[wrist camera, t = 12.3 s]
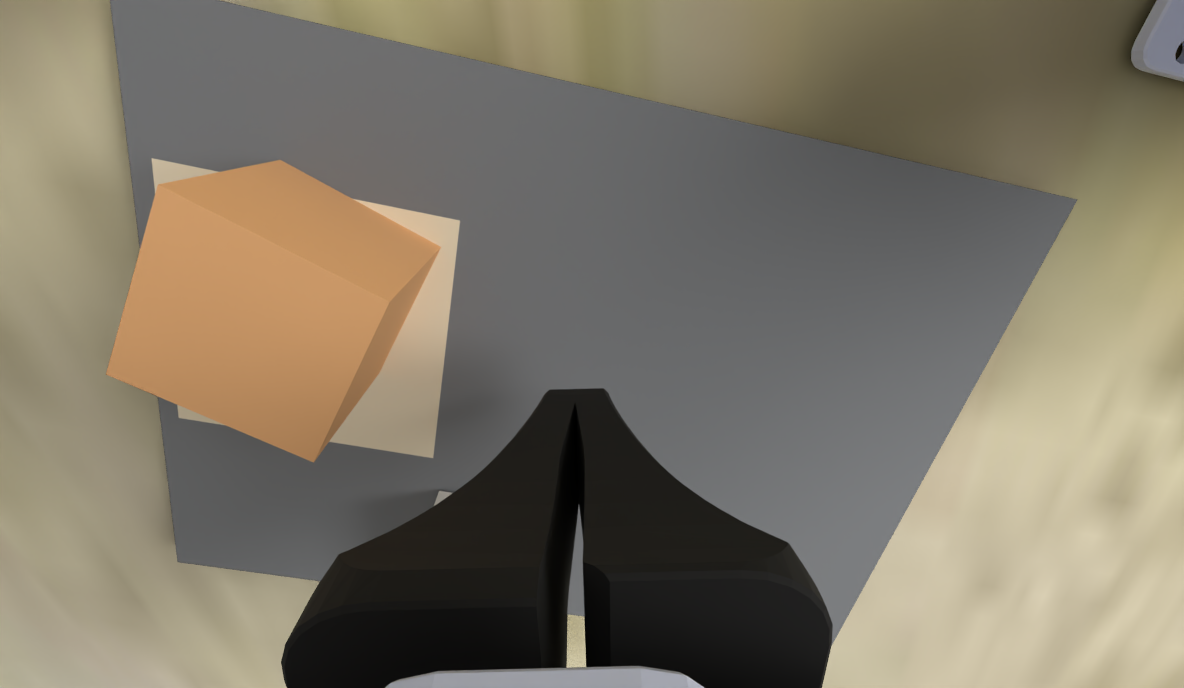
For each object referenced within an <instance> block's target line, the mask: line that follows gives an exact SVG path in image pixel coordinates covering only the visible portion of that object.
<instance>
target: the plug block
mask: <svg viewBox="0 0 1184 688" xmlns="http://www.w3.org/2000/svg"><path fill="white" fill-rule="evenodd" d="M440 249H441V247H440V246H438V245H437V244H435V243H433V242H431V241H429V240H427V239H426V238H424V237H422V236H420V235H418V234H416V233H414V232H413V231H411V230H409V229H407V228H405V227H403V226H402V225H400V224H398V223H396V222H394V221H392V220H390V219H389V218H387V217H385V216H383V215H381V214H379V213H378V212H376V211H374V210H372V209H370V208H368V207H366V206H365V205H363V204H361V203H359V202H357V201H355V200H354V199H352V198H350V197H348V196H346V195H344V194H343V193H341V192H339V191H337V190H335V189H333V188H331V187H330V186H328V185H326V184H324V183H322V182H320V181H319V180H317V179H315V178H313V177H311V176H309V175H307V174H306V173H304V172H302V171H300V170H298V169H296V168H295V167H293V166H291V165H289V164H287V163H285V162H283V161H282V160H276V161H272V162H267V163H262V164H257V165H252V166H247V167H242V168H237V169H232V170H227V171H222V172H217V173H212V174H207V175H202V176H197V177H192V178H187V179H182V180H177V181H172V182H167V183H162V184H158V186H157V190H156V193H155V197H154V200H153V204H152V208H151V211H150V215H149V219H148V222H147V226H146V230H145V233H144V237H143V241H142V244H141V248H140V252H139V255H138V259H137V263H136V266H135V270H134V273H133V277H132V281H131V284H130V288H129V292H128V295H127V299H126V303H125V306H124V310H123V314H122V317H121V321H120V325H119V328H118V332H117V336H116V339H115V343H114V347H113V350H112V354H111V357H110V361H109V365H108V368H107V372H106V375H108V376H111V377H113V378H116V379H118V380H120V381H123V382H125V383H127V384H130V385H132V386H134V387H137V388H139V389H141V390H144V391H146V392H149V393H151V394H153V395H156V396H158V397H160V398H163V399H165V400H167V401H170V402H172V403H174V404H177V405H179V406H182V407H184V408H186V409H189V410H191V411H193V412H196V413H198V414H200V415H203V416H205V417H207V418H210V419H212V420H215V421H217V422H219V423H222V424H224V425H226V426H229V427H231V428H233V429H236V430H238V431H240V432H243V433H245V434H248V435H250V436H252V437H255V438H257V439H259V440H262V441H264V442H266V443H269V444H271V445H273V446H276V447H278V448H281V449H283V450H285V451H288V452H290V453H292V454H295V455H297V456H299V457H302V458H304V459H306V460H309V461H311V462H314V461H315V460H316V459H317V457H318V456H319V455H320V453H321V452H322V451H323V449H324V448H325V446H326V445H327V444H328V442H329V441H330V440H331V438H332V437H333V436H334V434H335V433H336V431H337V430H338V429H339V427H340V426H341V425H342V423H343V422H344V421H345V419H346V418H347V416H348V415H349V414H350V412H351V411H352V410H353V408H354V407H355V406H356V404H357V403H358V401H359V400H360V399H361V397H362V396H363V395H364V393H365V392H366V391H367V389H368V388H369V387H370V385H371V384H372V382H373V381H374V380H375V378H376V377H377V376H378V374H379V373H380V371H381V369H382V367H383V365H384V363H385V360H386V358H387V356H388V354H389V352H390V350H391V348H392V346H393V344H394V342H395V340H396V338H397V336H398V334H399V332H400V330H401V328H402V326H403V324H404V322H405V320H406V318H407V316H408V314H409V312H410V310H411V308H412V306H413V303H414V301H415V299H416V297H417V295H418V293H419V291H420V289H421V287H422V285H423V283H424V281H425V279H426V277H427V275H428V273H429V271H430V269H431V267H432V265H433V263H434V261H435V259H436V257H437V255H438V253H439V251H440Z"/></svg>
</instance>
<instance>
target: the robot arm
mask: <svg viewBox="0 0 1184 688" xmlns="http://www.w3.org/2000/svg"><path fill="white" fill-rule="evenodd" d="M1181 43H1182V46H1183V49H1182V52H1181V55H1180V56H1179V57H1178V59H1177V60H1176V57H1175V54H1176V51H1177V48H1178V47H1179V45H1180V44H1181ZM1131 61H1132V63H1133V65H1134V67H1135V68H1137V69H1139V70H1141V71H1144V72H1148V73H1152V74H1156V75H1160V76H1163V77H1167V78H1171V79H1175V80H1179V81H1182V82H1184V0H1157V1H1156V2H1155V4H1154V6H1153V8H1152V10H1151V12H1150V14H1149V16H1148V17H1147V19H1146V21H1145V23H1144V25H1143V27H1142V29H1141V31H1140V32H1139V34H1138V36H1137V38H1136V40H1135V42H1134V45H1133V47H1132V50H1131ZM579 507H580V516H581V526H582V535H583V587H584V614H585V642H586V667H576V668H566V663H567V611H568V596H569V585H570V577H571V568H572V560H573V551H574V543H575V534H576V526H577V517H578V508H579ZM832 630H833V624H832V621H831V618H830V615H829V613H828V610H827V607H826V605H825V603H824V600H823V598H822V596H821V594H820V592H819V590H818V588H817V586H816V584H815V583H814V581H813V579H812V578H811V576H810V575H809V573H808V571H807V570H806V568H805V567H804V565H803V563H802V562H801V560H800V559H799V557H798V556H797V554H796V553H795V551H794V550H793V548H792V547H791V545H790V544H789V543H788V542H786V541H784V540H782V539H779V538H777V537H775V536H773V535H771V534H768V533H766V532H764V531H762V530H759V529H757V528H755V527H753V526H751V525H748V524H746V523H744V522H742V521H740V520H739V519H737V518H735V517H733V516H731V515H730V514H728V513H726V512H724V511H722V510H721V509H719V508H717V507H716V506H714V505H712V504H711V503H709V502H708V501H706V500H705V499H703V498H702V497H700V496H699V495H697V494H696V493H695V492H693V491H692V490H690V489H689V488H688V487H686V486H685V485H683V484H682V483H681V482H680V481H678V480H677V479H676V478H675V477H674V476H672V475H671V474H670V473H669V472H668V471H667V470H666V469H665V468H664V467H663V466H662V465H661V464H660V463H659V462H658V461H657V460H656V459H655V458H654V457H653V456H652V455H651V454H650V453H649V452H648V451H647V449H646V448H645V447H644V446H643V445H642V444H641V442H640V441H639V440H638V439H637V438H636V436H635V435H634V434H633V432H632V431H631V430H630V428H629V427H628V426H627V424H626V423H625V421H624V420H623V419H622V417H621V416H620V414H619V412H618V411H617V409H616V407H615V406H614V404H613V402H612V400H611V398H610V396H609V393H608V392H607V391H606V390H605V389H604V388H594V389H552V390H548V391H547V392H546V393H545V394H544V396H543V398H542V399H541V401H540V402H539V404H538V406H537V407H536V408H535V410H534V411H533V413H532V414H531V416H530V417H529V418H528V420H527V421H526V422H525V424H524V425H523V426H522V427H521V429H520V430H519V431H518V432H517V434H516V435H515V436H514V437H513V439H512V440H511V441H510V442H509V443H508V444H507V445H506V446H505V447H504V448H503V450H502V451H501V452H500V453H499V454H498V455H497V456H496V457H495V458H494V459H493V460H492V461H491V462H490V463H489V464H488V465H487V466H486V467H485V468H484V469H483V470H482V471H481V472H479V473H478V474H477V475H476V476H475V477H474V478H473V479H471V480H470V481H469V482H467V483H466V484H465V485H463V486H462V487H461V488H459V489H458V490H456V491H455V492H454V493H452V494H451V495H449V496H448V497H447V498H445V499H444V500H442V501H441V502H440V503H438V504H437V505H435V506H433V507H432V508H430V509H428V510H427V511H425V512H424V513H422V514H420V515H419V516H417V517H415V518H413V519H411V520H410V521H408V522H406V523H404V524H402V525H401V526H399V527H397V528H395V529H393V530H391V531H389V532H387V533H385V534H383V535H381V536H378V537H376V538H374V539H372V540H370V541H367V542H365V543H363V544H361V545H359V546H357V547H354V548H352V549H350V550H348V551H345V552H343V553H340V554H338V556H337V557H336V559H335V560H334V562H333V564H332V565H331V566H330V568H329V569H328V571H327V572H326V574H325V575H324V576H323V578H322V579H321V581H320V583H319V584H318V586H317V588H316V589H315V591H314V593H313V594H312V596H311V598H310V600H309V602H308V604H307V605H306V607H305V609H304V611H303V613H302V615H301V616H300V618H299V620H298V622H297V624H296V626H295V627H294V629H293V631H292V633H291V635H290V637H289V638H288V640H287V642H286V644H285V648H284V653H283V657H282V661H281V664H282V670H283V675H284V681H285V684H286V686H287V688H822V684H823V680H824V676H825V671H826V667H827V662H828V658H829V654H830V649H831V645H832Z"/></svg>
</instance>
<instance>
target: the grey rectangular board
mask: <svg viewBox="0 0 1184 688" xmlns="http://www.w3.org/2000/svg"><path fill="white" fill-rule="evenodd" d="M110 4H111V13H112V21H113V29H114V38H115V46H116V54H117V63H118V71H119V79H120V87H121V96H122V104H123V112H124V121H125V129H126V137H127V146H128V154H129V162H130V170H131V179H132V187H133V195H134V204H135V212H136V220H137V229H138V237H139V245H140V248H141V244H142V241H143V237H144V233H145V230H146V226H147V222H148V219H149V215H150V211H151V208H152V204H153V200H154V197H155V193H156V190H157V186H158V184H162V183H167V182H172V181H177V180H182V179H187V178H192V177H197V176H202V175H207V174H212V173H217V172H222V171H227V170H232V169H237V168H242V167H247V166H252V165H257V164H262V163H267V162H272V161H276V160H282V161H283V162H285V163H287V164H289V165H291V166H293V167H295V168H296V169H298V170H300V171H302V172H304V173H306V174H307V175H309V176H311V177H313V178H315V179H317V180H319V181H320V182H322V183H324V184H326V185H328V186H330V187H331V188H333V189H335V190H337V191H339V192H341V193H343V194H344V195H346V196H348V197H350V198H352V199H354V200H355V201H357V202H359V203H361V204H363V205H365V206H366V207H368V208H370V209H372V210H374V211H376V212H378V213H379V214H381V215H383V216H385V217H387V218H389V219H390V220H392V221H394V222H396V223H398V224H400V225H402V226H403V227H405V228H407V229H409V230H411V231H413V232H414V233H416V234H418V235H420V236H422V237H424V238H426V239H427V240H429V241H431V242H433V243H435V244H437V245H438V246H440V247H441V249H440V251H439V253H438V255H437V257H436V259H435V261H434V263H433V265H432V267H431V269H430V271H429V273H428V275H427V277H426V279H425V281H424V283H423V285H422V287H421V289H420V291H419V293H418V295H417V297H416V299H415V301H414V303H413V306H412V308H411V310H410V312H409V314H408V316H407V318H406V320H405V322H404V324H403V326H402V328H401V330H400V332H399V334H398V336H397V338H396V340H395V342H394V344H393V346H392V348H391V350H390V352H389V354H388V356H387V358H386V360H385V363H384V365H383V367H382V369H381V371H380V373H379V374H378V376H377V377H376V378H375V380H374V381H373V382H372V384H371V385H370V387H369V388H368V389H367V391H366V392H365V393H364V395H363V396H362V397H361V399H360V400H359V401H358V403H357V404H356V406H355V407H354V408H353V410H352V411H351V412H350V414H349V415H348V416H347V418H346V419H345V421H344V422H343V423H342V425H341V426H340V427H339V429H338V430H337V431H336V433H335V434H334V436H333V437H332V438H331V440H330V441H329V442H328V444H327V445H326V446H325V448H324V449H323V451H322V452H321V453H320V455H319V456H318V457H317V459H316V460H315V461H314V462H311V461H309V460H306V459H304V458H302V457H299V456H297V455H295V454H292V453H290V452H288V451H285V450H283V449H281V448H278V447H276V446H273V445H271V444H269V443H266V442H264V441H262V440H259V439H257V438H255V437H252V436H250V435H248V434H245V433H243V432H240V431H238V430H236V429H233V428H231V427H229V426H226V425H224V424H222V423H219V422H217V421H215V420H212V419H210V418H207V417H205V416H203V415H200V414H198V413H196V412H193V411H191V410H189V409H186V408H184V407H182V406H179V405H177V404H174V403H172V402H170V401H167V400H165V399H163V398H160V397H158V403H159V411H160V420H161V428H162V436H163V445H164V453H165V461H166V469H167V478H168V486H169V494H170V503H171V511H172V519H173V528H174V536H175V544H176V553H177V561H178V562H180V563H188V564H195V565H203V566H210V567H218V568H225V569H233V570H240V571H248V572H255V573H263V574H270V575H278V576H285V577H293V578H300V579H308V580H315V581H321V579H322V578H323V576H324V575H325V574H326V572H327V571H328V569H329V568H330V566H331V565H332V564H333V562H334V560H335V559H336V557H337V556H338V554H340V553H343V552H345V551H348V550H350V549H352V548H354V547H357V546H359V545H361V544H363V543H365V542H367V541H370V540H372V539H374V538H376V537H378V536H381V535H383V534H385V533H387V532H389V531H391V530H393V529H395V528H397V527H399V526H401V525H402V524H404V523H406V522H408V521H410V520H411V519H413V518H415V517H417V516H419V515H420V514H422V513H424V512H425V511H427V510H428V509H430V508H432V507H433V506H434V504H435V501H436V498H437V496H438V493H439V491H444V492H451V493H454V492H455V491H456V490H458V489H459V488H461V487H462V486H463V485H465V484H466V483H467V482H469V481H470V480H471V479H473V478H474V477H475V476H476V475H477V474H478V473H479V472H481V471H482V470H483V469H484V468H485V467H486V466H487V465H488V464H489V463H490V462H491V461H492V460H493V459H494V458H495V457H496V456H497V455H498V454H499V453H500V452H501V451H502V450H503V448H504V447H505V446H506V445H507V444H508V443H509V442H510V441H511V440H512V439H513V437H514V436H515V435H516V434H517V432H518V431H519V430H520V429H521V427H522V426H523V425H524V424H525V422H526V421H527V420H528V418H529V417H530V416H531V414H532V413H533V411H534V410H535V408H536V407H537V406H538V404H539V402H540V401H541V399H542V398H543V396H544V394H545V393H546V392H547V391H548V390H552V389H594V388H604V389H605V390H606V391H607V392H608V393H609V396H610V398H611V400H612V402H613V404H614V406H615V407H616V409H617V411H618V412H619V414H620V416H621V417H622V419H623V420H624V421H625V423H626V424H627V426H628V427H629V428H630V430H631V431H632V432H633V434H634V435H635V436H636V438H637V439H638V440H639V441H640V442H641V444H642V445H643V446H644V447H645V448H646V449H647V451H648V452H649V453H650V454H651V455H652V456H653V457H654V458H655V459H656V460H657V461H658V462H659V463H660V464H661V465H662V466H663V467H664V468H665V469H666V470H667V471H668V472H669V473H670V474H671V475H672V476H674V477H675V478H676V479H677V480H678V481H680V482H681V483H682V484H683V485H685V486H686V487H688V488H689V489H690V490H692V491H693V492H695V493H696V494H697V495H699V496H700V497H702V498H703V499H705V500H706V501H708V502H709V503H711V504H712V505H714V506H716V507H717V508H719V509H721V510H722V511H724V512H726V513H728V514H730V515H731V516H733V517H735V518H737V519H739V520H740V521H742V522H744V523H746V524H748V525H751V526H753V527H755V528H757V529H759V530H762V531H764V532H766V533H768V534H771V535H773V536H775V537H777V538H779V539H782V540H784V541H786V542H788V543H789V544H790V545H791V547H792V548H793V550H794V551H795V553H796V554H797V556H798V557H799V559H800V560H801V562H802V563H803V565H804V567H805V568H806V570H807V571H808V573H809V575H810V576H811V578H812V579H813V581H814V583H815V584H816V586H817V588H818V590H819V592H820V594H821V596H822V598H823V600H824V603H825V605H826V607H827V610H828V613H829V615H830V618H831V621H832V624H833V630H832V644H833V642H834V640H835V638H836V637H837V635H838V633H839V631H840V629H841V628H842V626H843V624H844V622H845V620H846V618H847V617H848V615H849V613H850V611H851V609H852V608H853V606H854V604H855V602H856V600H857V598H858V597H859V595H860V593H861V591H862V589H863V588H864V586H865V584H866V582H867V580H868V579H869V577H870V575H871V573H872V571H873V569H874V568H875V566H876V564H877V562H878V560H879V559H880V557H881V555H882V553H883V551H884V550H885V548H886V546H887V544H888V542H889V540H890V539H891V537H892V535H893V533H894V531H895V530H896V528H897V526H898V524H899V522H900V520H901V519H902V517H903V515H904V513H905V511H906V510H907V508H908V506H909V504H910V502H911V501H912V499H913V497H914V495H915V493H916V491H917V490H918V488H919V486H920V484H921V482H922V481H923V479H924V477H925V475H926V473H927V472H928V470H929V468H930V466H931V464H932V462H933V461H934V459H935V457H936V455H937V453H938V452H939V450H940V448H941V446H942V444H943V443H944V441H945V439H946V437H947V435H948V433H949V432H950V430H951V428H952V426H953V424H954V423H955V421H956V419H957V417H958V415H959V413H960V412H961V410H962V408H963V406H964V404H965V403H966V401H967V399H968V397H969V395H970V394H971V392H972V390H973V388H974V386H975V384H976V383H977V381H978V379H979V377H980V375H981V374H982V372H983V370H984V368H985V366H986V365H987V363H988V361H989V359H990V357H991V355H992V354H993V352H994V350H995V348H996V346H997V345H998V343H999V341H1000V339H1001V337H1002V335H1003V334H1004V332H1005V330H1006V328H1007V326H1008V325H1009V323H1010V321H1011V319H1012V317H1013V316H1014V314H1015V312H1016V310H1017V308H1018V306H1019V305H1020V303H1021V301H1022V299H1023V297H1024V296H1025V294H1026V292H1027V290H1028V288H1029V287H1030V285H1031V283H1032V281H1033V279H1034V277H1035V276H1036V274H1037V272H1038V270H1039V268H1040V267H1041V265H1042V263H1043V261H1044V259H1045V258H1046V256H1047V254H1048V252H1049V250H1050V248H1051V247H1052V245H1053V243H1054V241H1055V239H1056V238H1057V236H1058V234H1059V232H1060V230H1061V228H1062V227H1063V225H1064V223H1065V221H1066V219H1067V218H1068V216H1069V214H1070V212H1071V210H1072V209H1073V207H1074V205H1075V203H1076V201H1077V199H1072V198H1068V197H1064V196H1059V195H1055V194H1051V193H1046V192H1042V191H1038V190H1034V189H1029V188H1025V187H1021V186H1016V185H1012V184H1008V183H1003V182H999V181H995V180H990V179H986V178H982V177H977V176H973V175H969V174H965V173H960V172H956V171H952V170H947V169H943V168H939V167H934V166H930V165H926V164H921V163H917V162H913V161H909V160H904V159H900V158H896V157H891V156H887V155H883V154H878V153H874V152H870V151H865V150H861V149H857V148H853V147H848V146H844V145H840V144H835V143H831V142H827V141H822V140H818V139H814V138H809V137H805V136H801V135H796V134H792V133H788V132H784V131H779V130H775V129H771V128H766V127H762V126H758V125H753V124H749V123H745V122H740V121H736V120H732V119H728V118H723V117H719V116H715V115H710V114H706V113H702V112H697V111H693V110H689V109H684V108H680V107H676V106H671V105H667V104H663V103H659V102H654V101H650V100H646V99H641V98H637V97H633V96H628V95H624V94H620V93H615V92H611V91H607V90H603V89H598V88H594V87H590V86H585V85H581V84H577V83H572V82H568V81H564V80H559V79H555V78H551V77H547V76H542V75H538V74H534V73H529V72H525V71H521V70H516V69H512V68H508V67H503V66H499V65H495V64H490V63H486V62H482V61H478V60H473V59H469V58H465V57H460V56H456V55H452V54H447V53H443V52H439V51H434V50H430V49H426V48H422V47H417V46H413V45H409V44H404V43H400V42H396V41H391V40H387V39H383V38H378V37H374V36H370V35H366V34H361V33H357V32H353V31H348V30H344V29H340V28H335V27H331V26H327V25H322V24H318V23H314V22H309V21H305V20H301V19H297V18H292V17H288V16H284V15H279V14H275V13H271V12H266V11H262V10H258V9H253V8H249V7H245V6H241V5H236V4H232V3H228V2H223V1H219V0H110ZM567 614H570V615H578V616H585V614H584V587H583V535H582V526H581V516H580V507H579V508H578V517H577V526H576V534H575V543H574V551H573V560H572V568H571V577H570V585H569V596H568V611H567ZM831 646H832V645H831Z"/></svg>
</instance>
